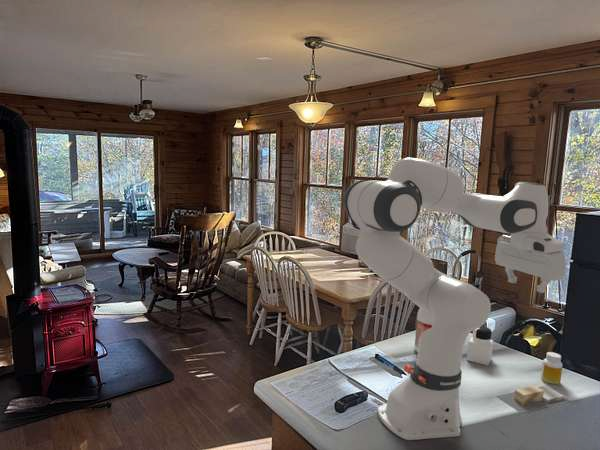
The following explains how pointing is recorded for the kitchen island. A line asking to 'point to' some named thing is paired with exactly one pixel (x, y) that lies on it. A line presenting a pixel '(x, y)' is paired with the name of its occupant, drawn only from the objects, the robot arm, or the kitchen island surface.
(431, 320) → the fruit juice
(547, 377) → the supplement bottle
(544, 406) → the mat
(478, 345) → the medicine bottle
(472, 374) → the kitchen island surface
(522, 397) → the putty knife
